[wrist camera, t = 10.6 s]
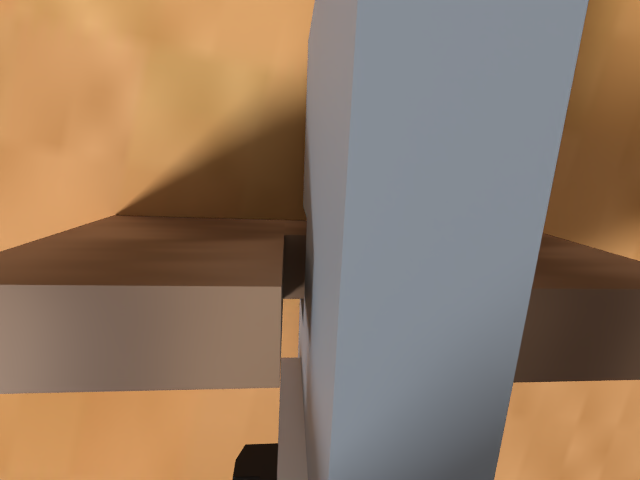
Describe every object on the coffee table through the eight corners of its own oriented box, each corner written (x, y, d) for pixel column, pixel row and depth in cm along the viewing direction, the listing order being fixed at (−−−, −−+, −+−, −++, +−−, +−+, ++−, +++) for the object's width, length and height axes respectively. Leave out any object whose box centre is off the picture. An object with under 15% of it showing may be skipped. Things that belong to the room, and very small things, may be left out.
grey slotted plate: (372, 45, 13) (654, -339, 3) (346, 413, 16) (432, 789, 7) (308, 39, 12) (382, -397, 3) (296, 414, 16) (308, 807, 6)
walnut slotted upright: (518, 226, 16) (738, 290, 8) (509, 274, 16) (708, 377, 9) (113, 215, 14) (-101, 283, 6) (118, 270, 15) (-72, 395, 7)
